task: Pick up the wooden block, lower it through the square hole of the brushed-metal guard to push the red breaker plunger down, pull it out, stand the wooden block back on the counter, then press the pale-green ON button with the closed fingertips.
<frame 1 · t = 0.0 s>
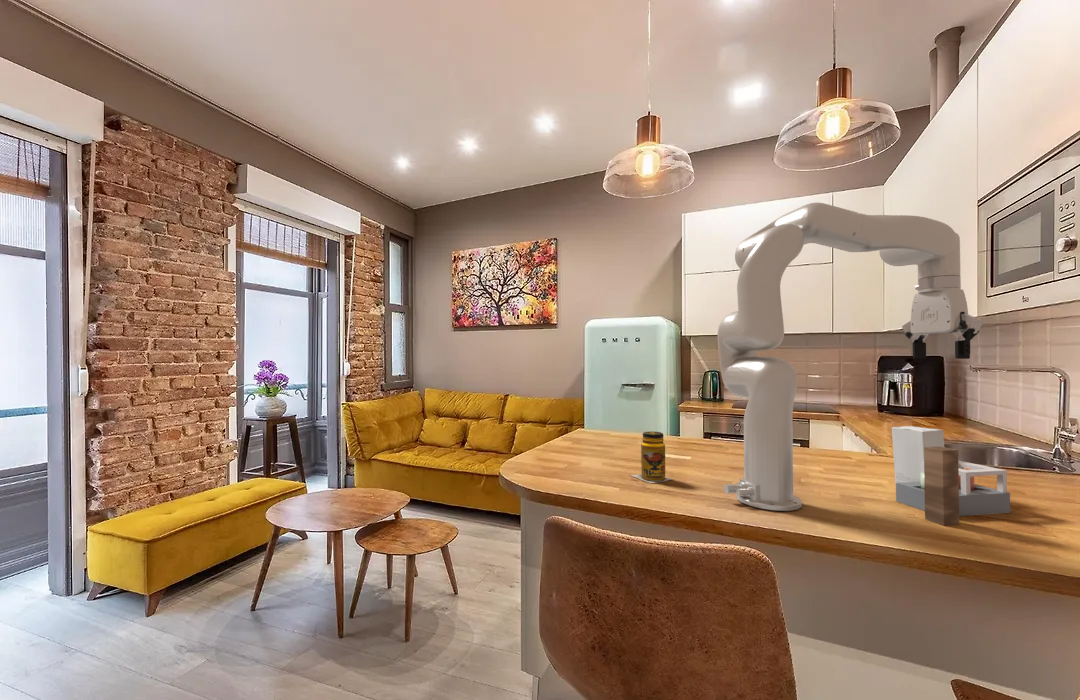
hand: (940, 358, 106), 31 cm above the table, fingers open, 9 cm apart
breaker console: (951, 506, 95), on the table
on button: (930, 483, 94), point 5 cm above the table, slide at 0.0 cm
condiment: (651, 478, 118), on the table
wooden block: (941, 521, 86), on the table
skincare box: (919, 491, 106), on the table
breaker plunger: (962, 482, 95), point 5 cm above the table, slide at 0.0 cm
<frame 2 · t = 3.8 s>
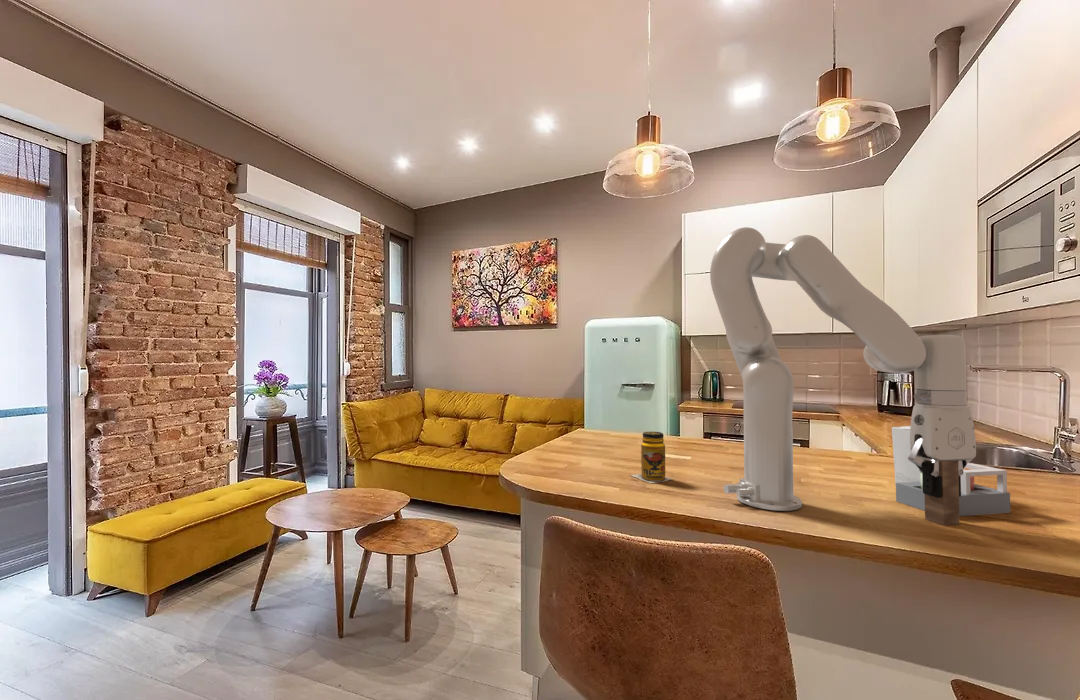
hand: (941, 494, 86), 5 cm above the table, fingers closed on wooden block, 3 cm apart
wooden block: (941, 521, 86), on the table, touching gripper
everything else where it was.
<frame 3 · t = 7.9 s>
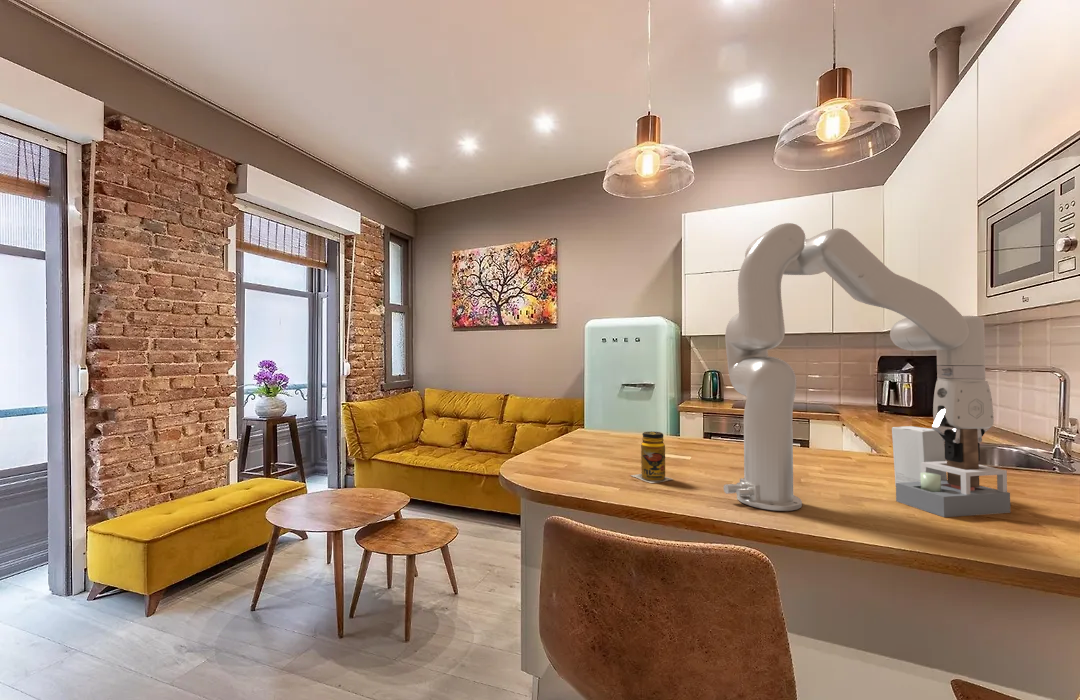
hand: (962, 459, 95), 10 cm above the table, fingers closed on wooden block, 3 cm apart
wooden block: (963, 485, 95), point 4 cm above the table, touching breaker plunger, gripper
breaker plunger: (962, 492, 95), point 3 cm above the table, slide at 2.1 cm, touching wooden block
everything else where it was.
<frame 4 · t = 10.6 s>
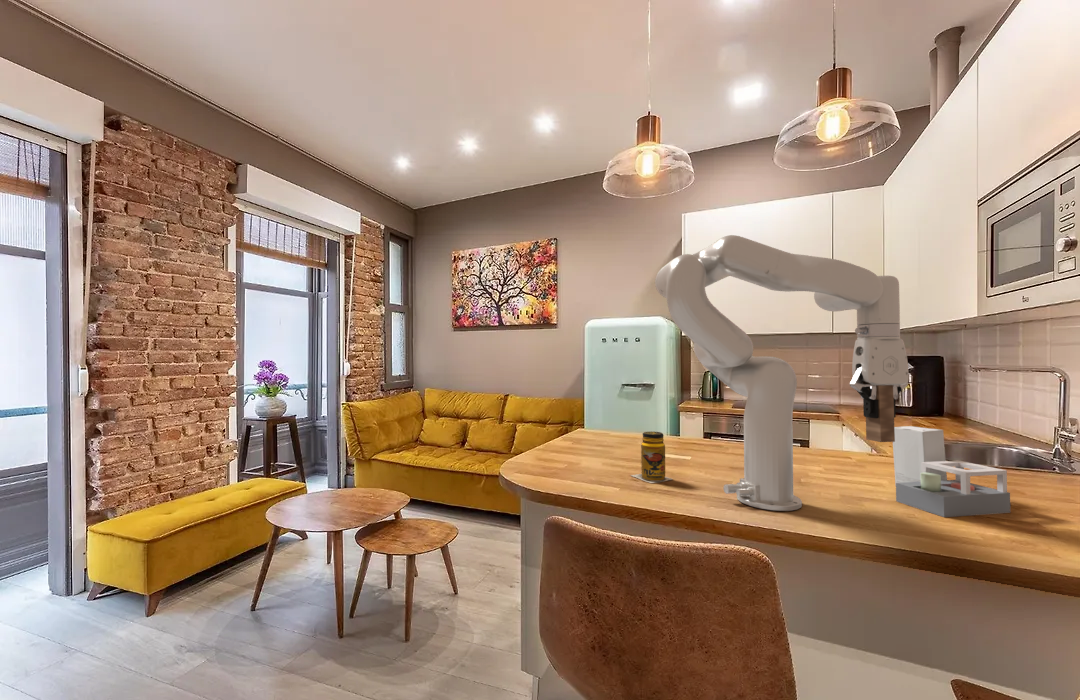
hand: (879, 416, 98), 19 cm above the table, fingers closed on wooden block, 3 cm apart
wooden block: (880, 440, 98), point 13 cm above the table, touching gripper
breaker plunger: (962, 492, 95), point 3 cm above the table, slide at 2.1 cm
everything else where it was.
when the fingers open (6 cm above the table, at t = 13.0 s): wooden block drops 1 cm, on the table.
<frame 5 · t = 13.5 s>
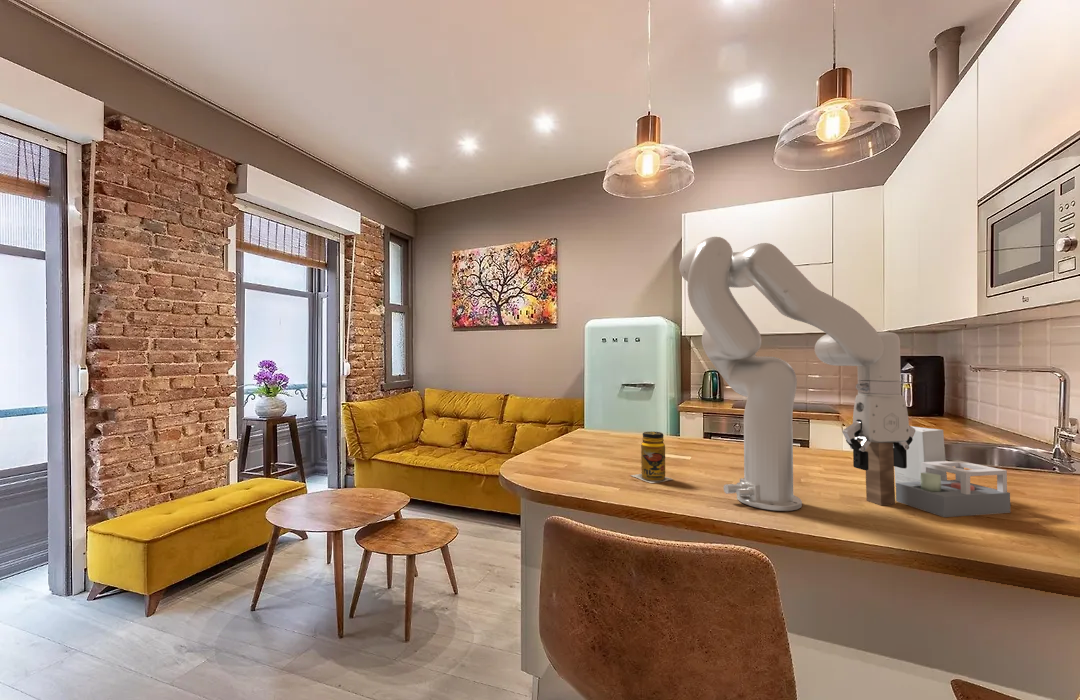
hand: (879, 467, 98), 7 cm above the table, fingers open, 9 cm apart
wooden block: (880, 502, 98), on the table
everything else where it was.
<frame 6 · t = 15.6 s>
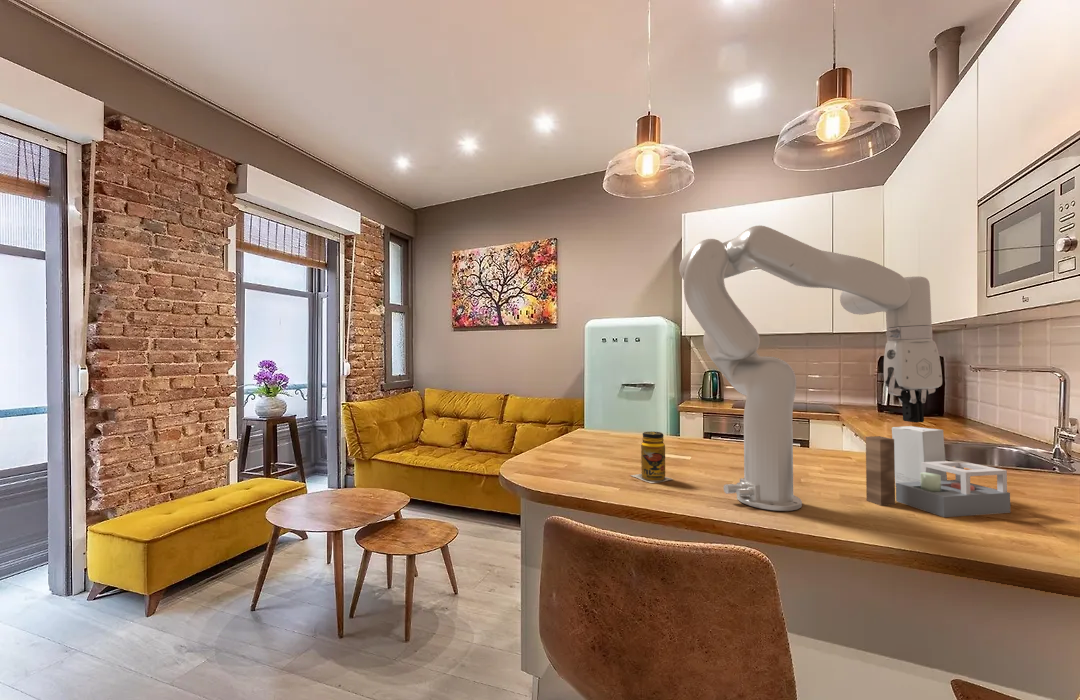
hand: (913, 421, 96), 18 cm above the table, fingers closed
nothing on the table moved.
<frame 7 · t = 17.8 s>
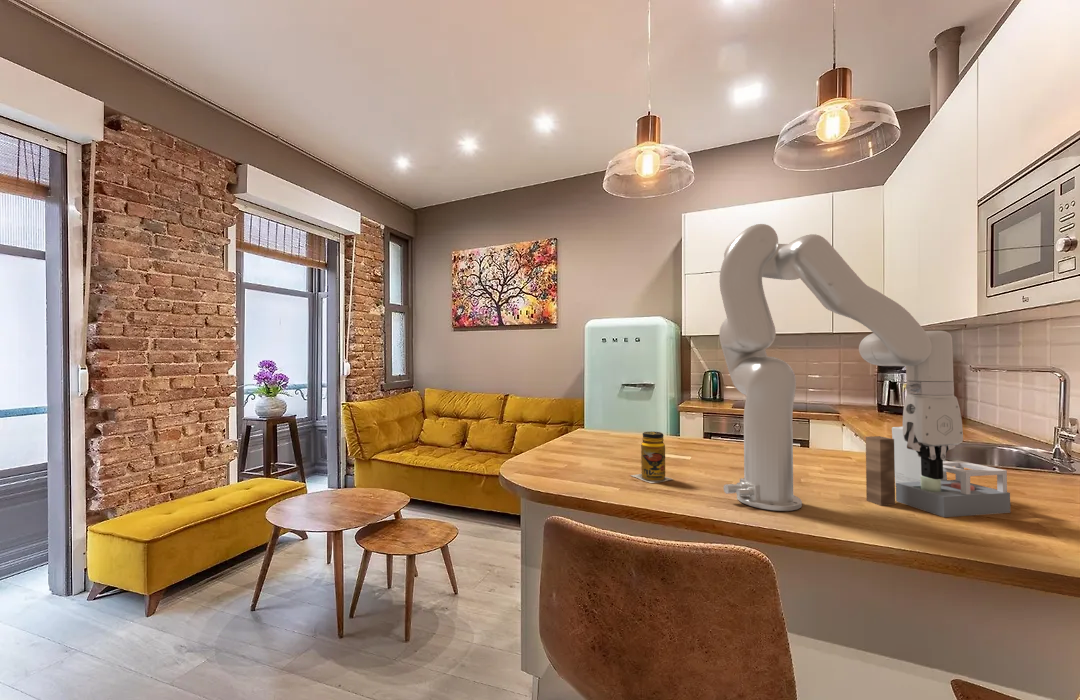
hand: (932, 477, 94), 6 cm above the table, fingers closed
on button: (930, 486, 94), point 4 cm above the table, slide at 0.7 cm, touching gripper
everything else where it was.
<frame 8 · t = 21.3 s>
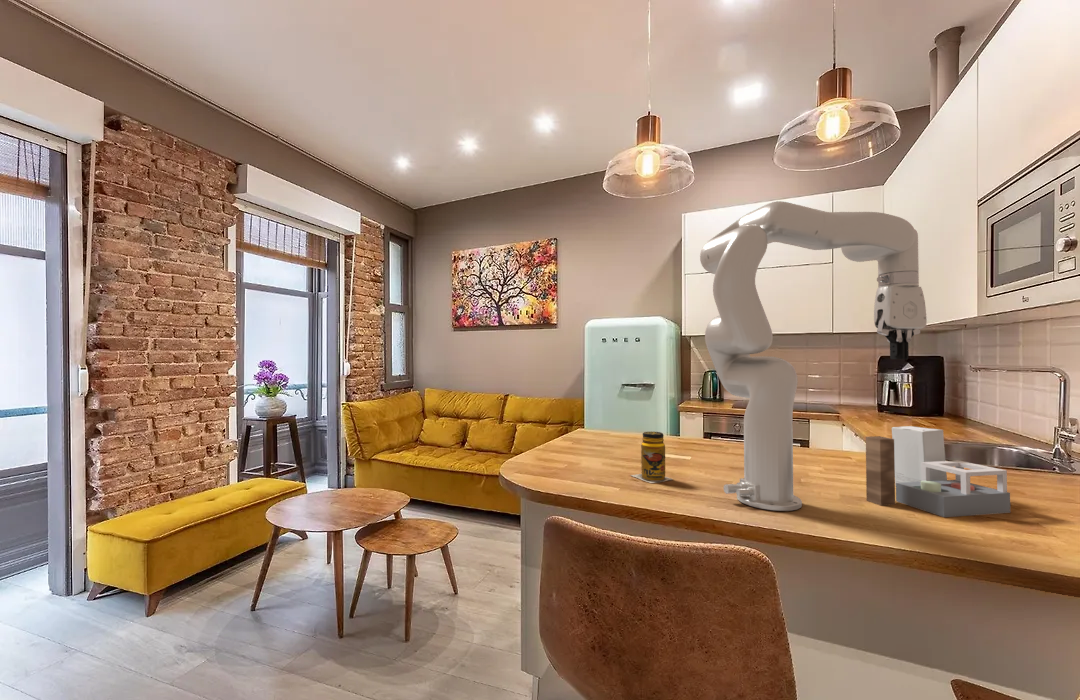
hand: (899, 359, 106), 31 cm above the table, fingers closed
on button: (930, 491, 94), point 3 cm above the table, slide at 1.7 cm
everything else where it was.
at the end: breaker plunger slide at 2.1 cm; on button slide at 1.7 cm; wooden block tilted 0° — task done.
